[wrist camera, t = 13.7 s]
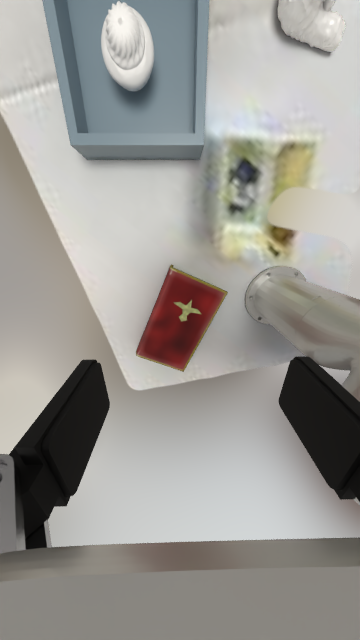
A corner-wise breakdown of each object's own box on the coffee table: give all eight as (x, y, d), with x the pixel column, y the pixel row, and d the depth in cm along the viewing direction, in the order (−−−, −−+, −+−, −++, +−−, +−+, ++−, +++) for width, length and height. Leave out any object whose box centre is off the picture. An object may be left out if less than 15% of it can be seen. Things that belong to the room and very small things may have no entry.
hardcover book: (138, 345, 44) (134, 356, 40) (170, 263, 36) (170, 267, 33) (182, 361, 46) (183, 372, 43) (222, 287, 39) (228, 292, 35)
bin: (205, -32, 22) (213, -104, 17) (199, 159, 29) (203, 145, 25) (54, -34, 21) (21, -107, 17) (87, 159, 29) (70, 145, 24)
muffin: (103, 50, 24) (76, -19, 17) (147, 30, 23) (136, -49, 17) (122, 113, 26) (105, 73, 20) (162, 97, 26) (158, 51, 19)
